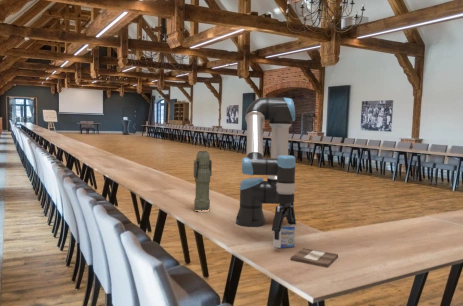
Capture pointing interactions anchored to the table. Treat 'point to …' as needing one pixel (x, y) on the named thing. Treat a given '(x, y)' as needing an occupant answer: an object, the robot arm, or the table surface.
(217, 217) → the table surface
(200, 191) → the green robed figurine
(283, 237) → the medicine box
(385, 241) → the table surface
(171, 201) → the table surface
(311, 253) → the pad
